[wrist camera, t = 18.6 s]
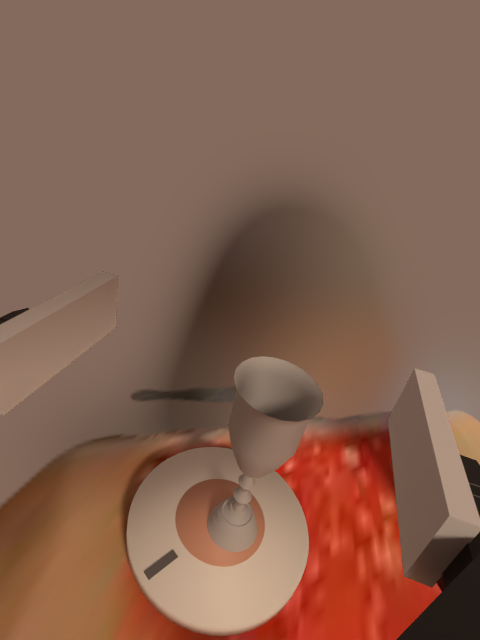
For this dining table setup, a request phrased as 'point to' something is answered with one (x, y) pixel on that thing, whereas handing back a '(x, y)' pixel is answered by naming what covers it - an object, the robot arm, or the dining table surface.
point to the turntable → (213, 545)
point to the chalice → (262, 438)
